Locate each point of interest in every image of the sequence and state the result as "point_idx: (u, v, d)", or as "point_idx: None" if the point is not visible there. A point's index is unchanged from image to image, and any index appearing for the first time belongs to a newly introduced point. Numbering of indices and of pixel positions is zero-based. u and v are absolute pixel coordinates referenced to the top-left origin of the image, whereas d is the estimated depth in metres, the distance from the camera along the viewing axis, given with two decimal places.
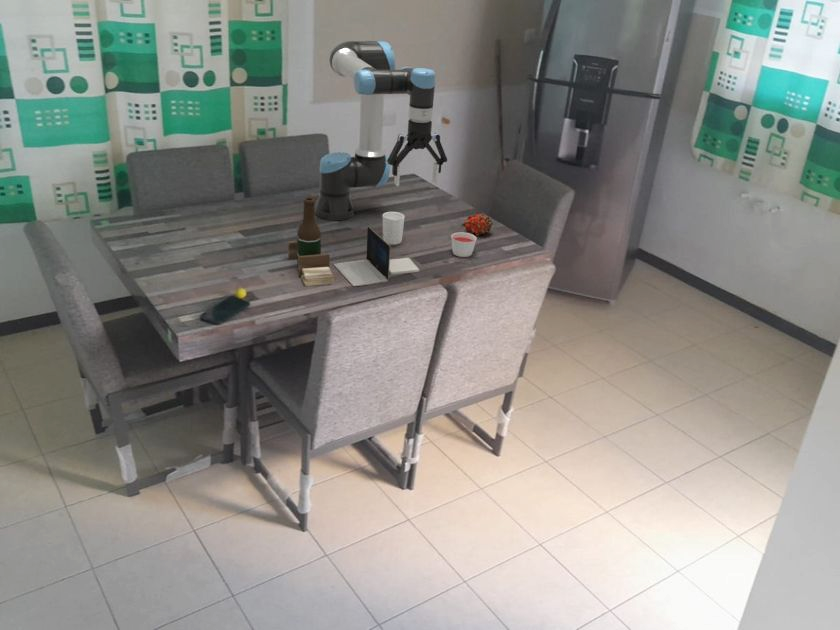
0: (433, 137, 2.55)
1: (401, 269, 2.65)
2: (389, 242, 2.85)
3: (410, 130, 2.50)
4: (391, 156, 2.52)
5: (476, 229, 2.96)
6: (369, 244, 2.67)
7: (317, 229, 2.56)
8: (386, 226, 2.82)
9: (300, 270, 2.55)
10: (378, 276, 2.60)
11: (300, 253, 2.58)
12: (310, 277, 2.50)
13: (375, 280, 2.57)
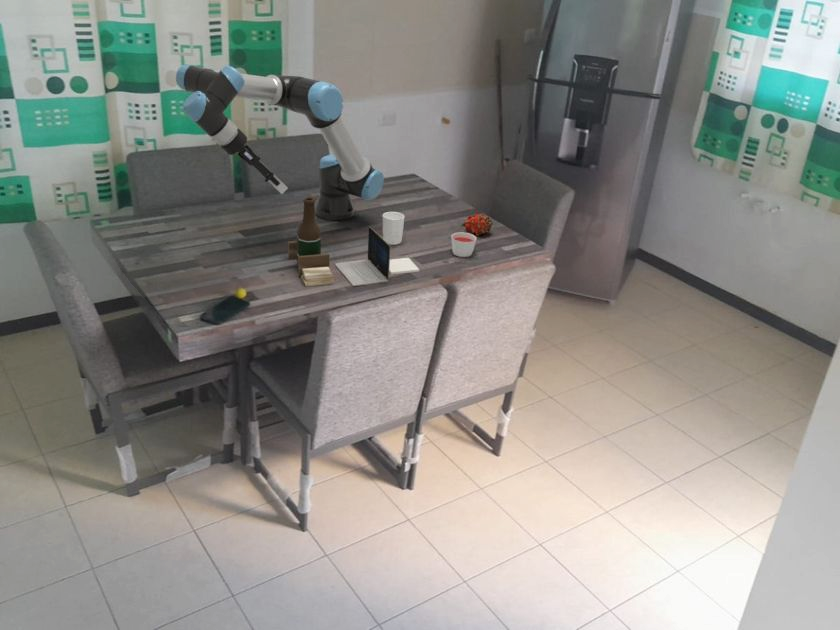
0: None
1: (401, 269, 2.65)
2: (389, 242, 2.85)
3: None
4: None
5: (476, 229, 2.96)
6: (370, 244, 2.67)
7: (317, 229, 2.56)
8: (386, 226, 2.82)
9: (300, 270, 2.55)
10: (378, 276, 2.60)
11: (300, 253, 2.58)
12: (310, 277, 2.50)
13: (375, 280, 2.57)
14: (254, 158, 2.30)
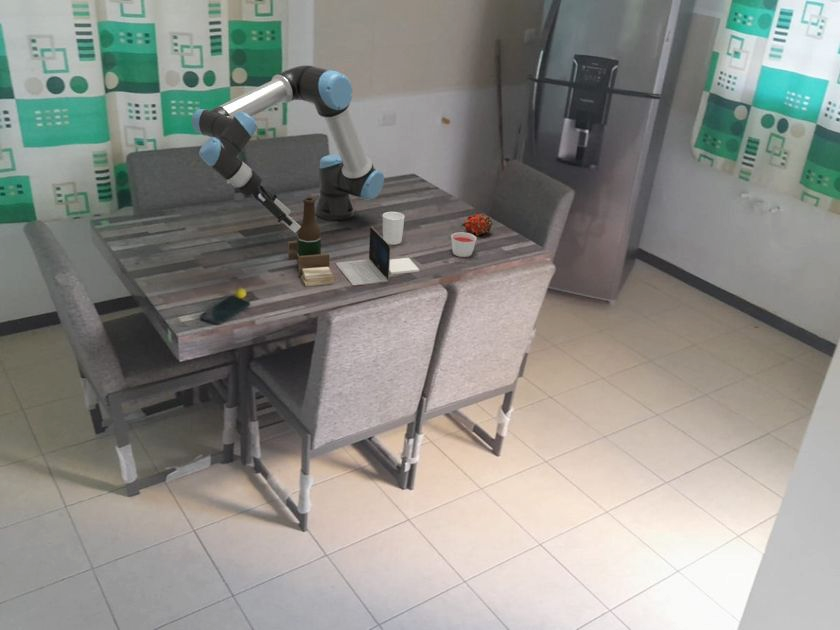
0: None
1: (401, 269, 2.65)
2: (389, 242, 2.85)
3: None
4: None
5: (476, 229, 2.96)
6: (372, 244, 2.67)
7: (317, 229, 2.56)
8: (386, 226, 2.82)
9: (300, 270, 2.55)
10: (379, 276, 2.60)
11: (300, 253, 2.58)
12: (310, 277, 2.50)
13: (375, 280, 2.57)
14: (267, 200, 2.39)
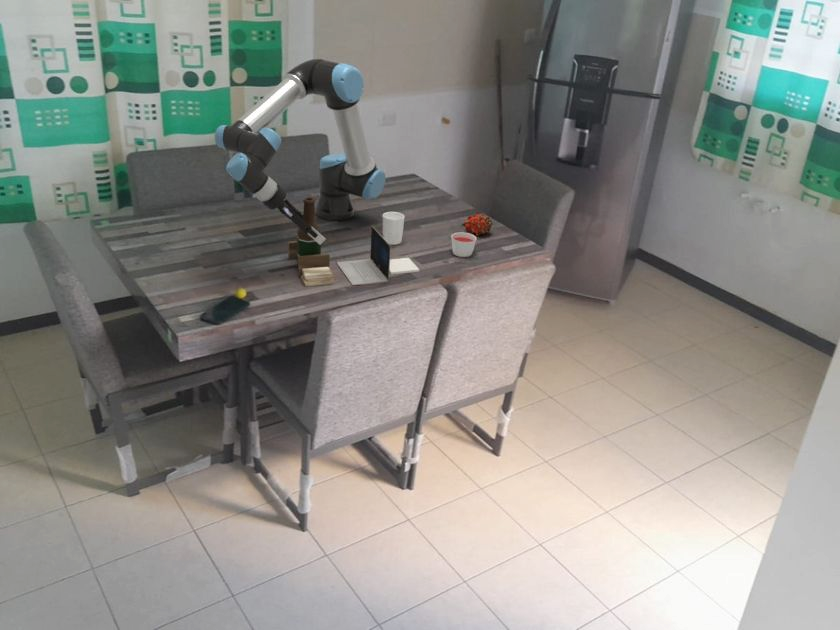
0: (286, 212, 2.47)
1: (401, 269, 2.65)
2: (389, 242, 2.85)
3: None
4: None
5: (476, 229, 2.96)
6: (373, 244, 2.67)
7: (317, 229, 2.56)
8: (386, 226, 2.82)
9: (300, 270, 2.55)
10: (379, 276, 2.60)
11: (300, 253, 2.58)
12: (310, 277, 2.50)
13: (375, 280, 2.57)
14: (294, 215, 2.46)
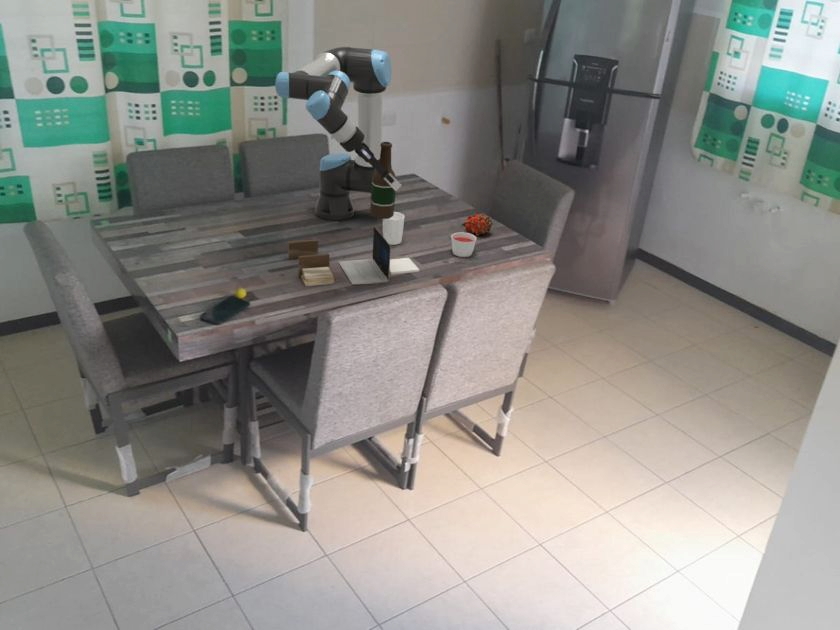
0: (364, 154, 2.40)
1: (401, 269, 2.65)
2: (389, 242, 2.85)
3: None
4: None
5: (476, 229, 2.96)
6: (375, 244, 2.67)
7: (393, 175, 2.49)
8: (386, 226, 2.82)
9: (300, 270, 2.55)
10: (379, 276, 2.60)
11: (374, 200, 2.51)
12: (310, 277, 2.50)
13: (375, 279, 2.57)
14: (373, 158, 2.39)
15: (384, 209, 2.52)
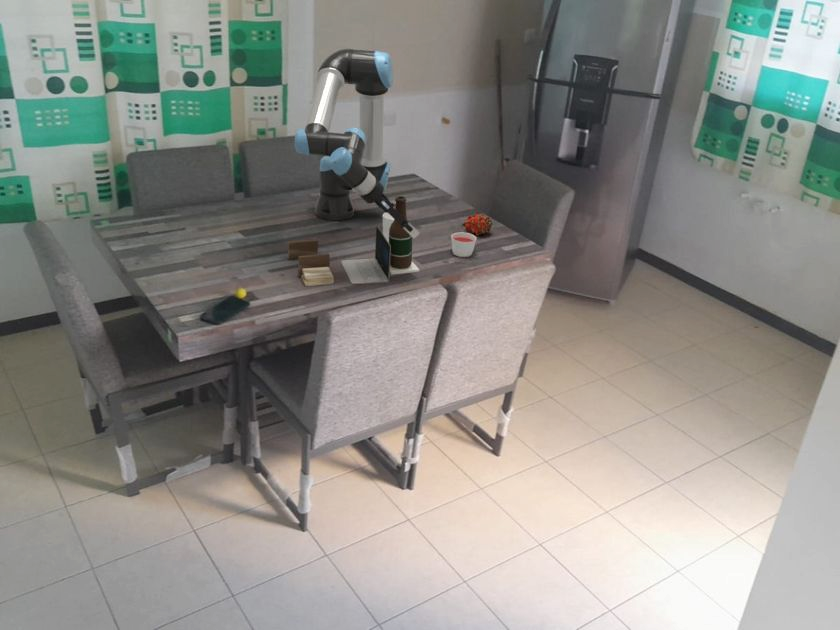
0: None
1: (401, 269, 2.65)
2: None
3: None
4: None
5: (476, 229, 2.96)
6: (377, 243, 2.67)
7: None
8: (386, 226, 2.82)
9: (300, 270, 2.55)
10: (380, 276, 2.60)
11: (392, 251, 2.63)
12: (310, 277, 2.50)
13: (375, 279, 2.58)
14: (391, 208, 2.49)
15: (402, 259, 2.63)
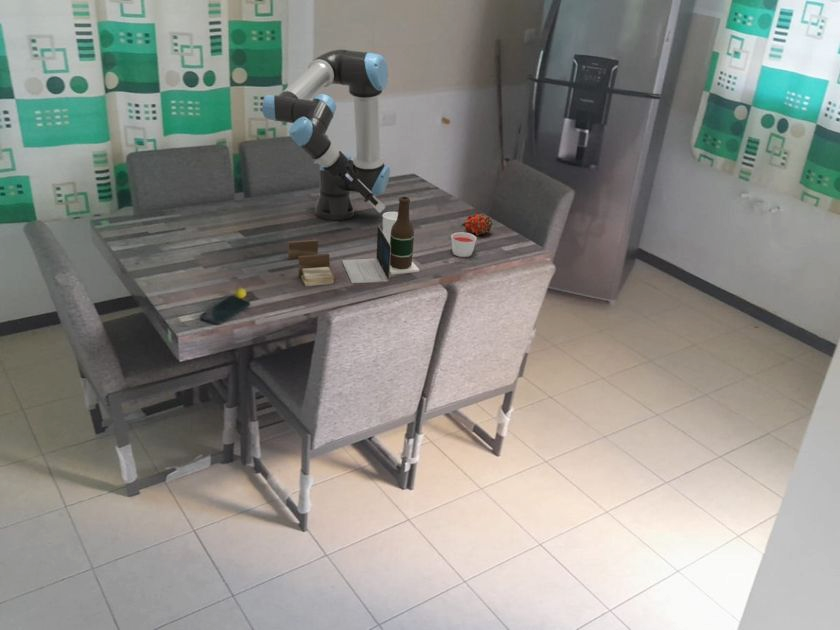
0: None
1: (401, 269, 2.65)
2: (389, 242, 2.85)
3: None
4: None
5: (476, 229, 2.96)
6: (378, 243, 2.68)
7: (411, 227, 2.61)
8: (386, 226, 2.82)
9: (300, 270, 2.55)
10: (380, 276, 2.60)
11: (393, 251, 2.63)
12: (310, 277, 2.50)
13: (376, 279, 2.58)
14: (355, 180, 2.40)
15: (403, 259, 2.64)
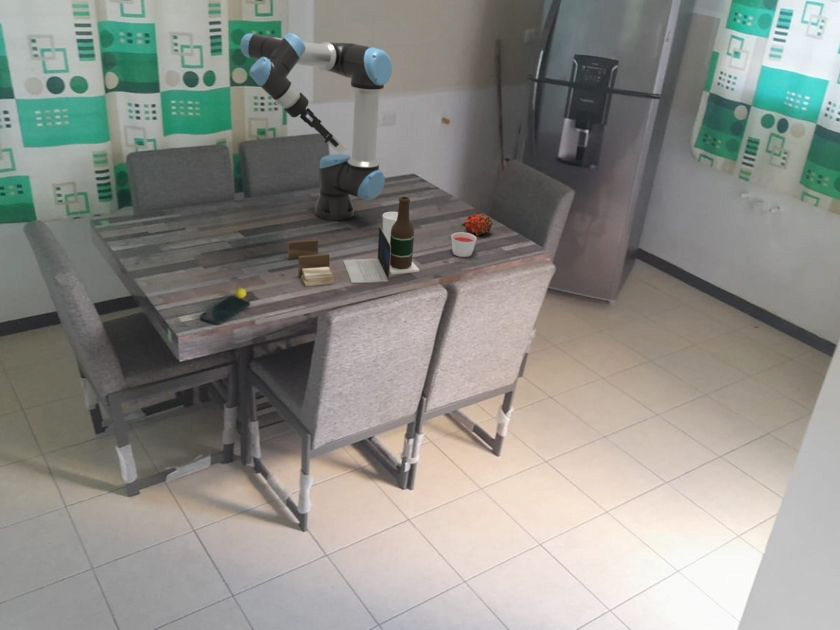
0: None
1: (401, 269, 2.65)
2: (389, 242, 2.85)
3: None
4: None
5: (476, 229, 2.97)
6: (379, 243, 2.68)
7: (411, 227, 2.61)
8: (386, 226, 2.82)
9: (300, 270, 2.55)
10: (381, 276, 2.60)
11: (393, 251, 2.63)
12: (310, 277, 2.50)
13: (376, 279, 2.58)
14: (315, 120, 2.45)
15: (403, 259, 2.64)
